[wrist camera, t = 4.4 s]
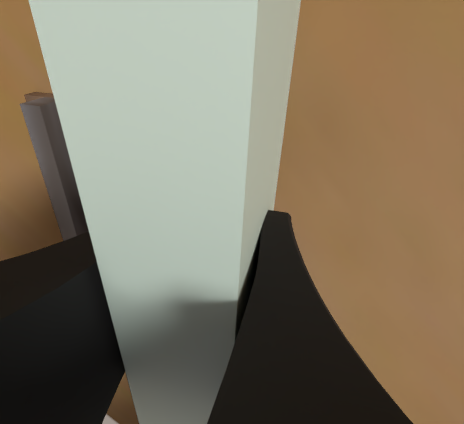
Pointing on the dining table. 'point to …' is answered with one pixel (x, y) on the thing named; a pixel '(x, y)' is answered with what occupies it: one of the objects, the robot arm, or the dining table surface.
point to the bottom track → (54, 162)
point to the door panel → (173, 172)
